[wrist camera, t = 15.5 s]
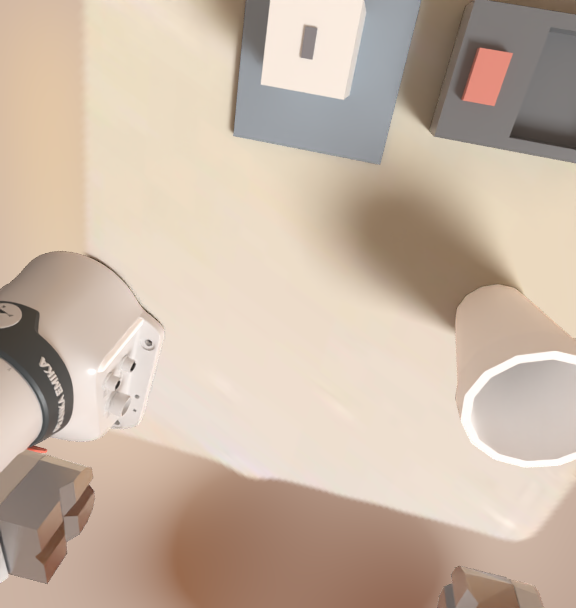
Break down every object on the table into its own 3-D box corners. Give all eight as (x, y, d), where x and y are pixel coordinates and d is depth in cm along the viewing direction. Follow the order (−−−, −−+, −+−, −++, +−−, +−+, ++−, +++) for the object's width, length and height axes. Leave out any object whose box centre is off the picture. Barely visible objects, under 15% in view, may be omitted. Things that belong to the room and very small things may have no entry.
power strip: (591, 161, 33) (618, 172, 29) (429, 130, 34) (435, 137, 30) (650, 36, 29) (691, 30, 25) (465, 6, 30) (478, -4, 26)
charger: (349, 95, 33) (343, 99, 27) (281, 82, 33) (260, 84, 27) (366, 13, 30) (363, -4, 24) (293, 0, 31) (271, -19, 25)
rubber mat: (380, 163, 35) (380, 164, 35) (235, 135, 36) (233, 135, 36) (434, -57, 29) (436, -59, 28) (256, -84, 30) (253, -87, 29)
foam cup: (472, 375, 43) (507, 485, 31) (416, 307, 40) (432, 397, 29) (571, 325, 39) (652, 430, 27) (515, 246, 36) (578, 324, 25)
